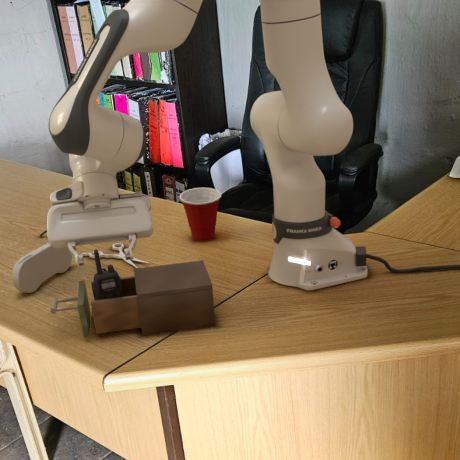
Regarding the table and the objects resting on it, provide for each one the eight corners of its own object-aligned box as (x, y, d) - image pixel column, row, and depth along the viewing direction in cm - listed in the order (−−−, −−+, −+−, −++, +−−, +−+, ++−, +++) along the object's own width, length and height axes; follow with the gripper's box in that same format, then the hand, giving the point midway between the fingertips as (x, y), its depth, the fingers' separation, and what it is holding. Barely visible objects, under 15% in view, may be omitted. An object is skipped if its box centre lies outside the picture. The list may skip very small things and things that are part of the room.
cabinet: (142, 336, 126) (136, 294, 121) (139, 307, 137) (133, 268, 132) (215, 326, 128) (212, 284, 123) (206, 299, 138) (203, 260, 134)
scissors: (115, 240, 170) (163, 258, 157) (115, 243, 170) (163, 261, 157) (81, 253, 163) (128, 272, 151) (82, 255, 164) (128, 275, 151)
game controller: (67, 264, 160) (61, 233, 155) (75, 265, 159) (69, 233, 155) (15, 297, 145) (7, 263, 140) (23, 298, 144) (15, 264, 140)
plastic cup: (188, 248, 165) (184, 202, 158) (179, 234, 174) (175, 190, 167) (228, 241, 167) (226, 196, 161) (218, 228, 176) (215, 185, 170)
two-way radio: (101, 324, 127) (88, 253, 119) (96, 314, 131) (83, 245, 123) (128, 317, 129) (117, 248, 121) (123, 308, 132) (112, 240, 124)
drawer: (54, 342, 124) (47, 308, 120) (57, 315, 134) (50, 284, 130) (152, 329, 126) (148, 295, 122) (148, 304, 136) (144, 272, 132)
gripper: (149, 198, 130) (159, 261, 127) (47, 210, 128) (54, 274, 125) (148, 183, 124) (158, 248, 121) (41, 194, 122) (48, 261, 119)
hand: (104, 261), depth 123 cm, fingers open, 8 cm apart
